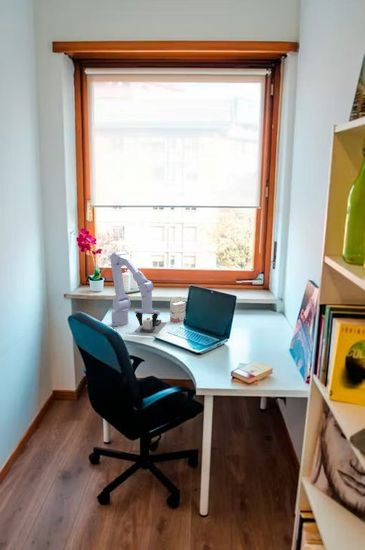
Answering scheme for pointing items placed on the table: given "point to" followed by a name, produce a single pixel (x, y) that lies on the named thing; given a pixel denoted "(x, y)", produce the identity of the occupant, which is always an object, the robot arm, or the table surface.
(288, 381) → the table surface
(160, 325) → the panel
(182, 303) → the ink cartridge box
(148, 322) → the plug
